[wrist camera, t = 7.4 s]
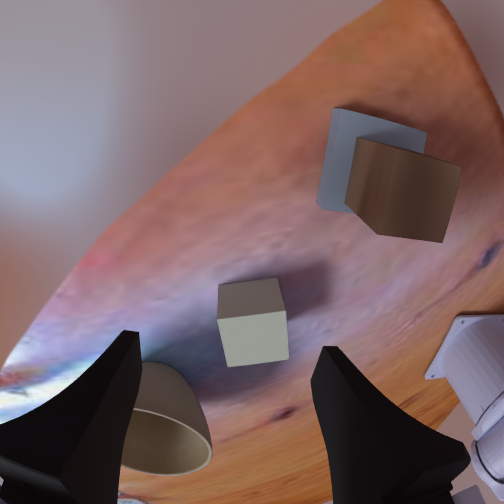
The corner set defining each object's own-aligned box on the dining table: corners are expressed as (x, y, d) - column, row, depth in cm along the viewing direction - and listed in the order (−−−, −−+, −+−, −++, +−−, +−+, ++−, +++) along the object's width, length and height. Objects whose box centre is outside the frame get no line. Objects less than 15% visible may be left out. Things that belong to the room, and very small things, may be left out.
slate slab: (411, 129, 19) (427, 132, 17) (393, 211, 21) (406, 221, 19) (330, 107, 18) (341, 108, 16) (313, 199, 21) (322, 209, 19)
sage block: (276, 276, 22) (285, 310, 19) (280, 322, 24) (288, 359, 20) (218, 284, 22) (217, 319, 19) (227, 329, 24) (227, 367, 20)
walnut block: (414, 151, 17) (462, 167, 13) (400, 211, 19) (442, 243, 14) (356, 137, 17) (396, 148, 12) (344, 203, 19) (377, 234, 14)
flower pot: (232, 362, 25) (234, 434, 19) (192, 423, 29) (189, 484, 22) (113, 320, 23) (84, 388, 16) (96, 392, 26) (77, 451, 20)
